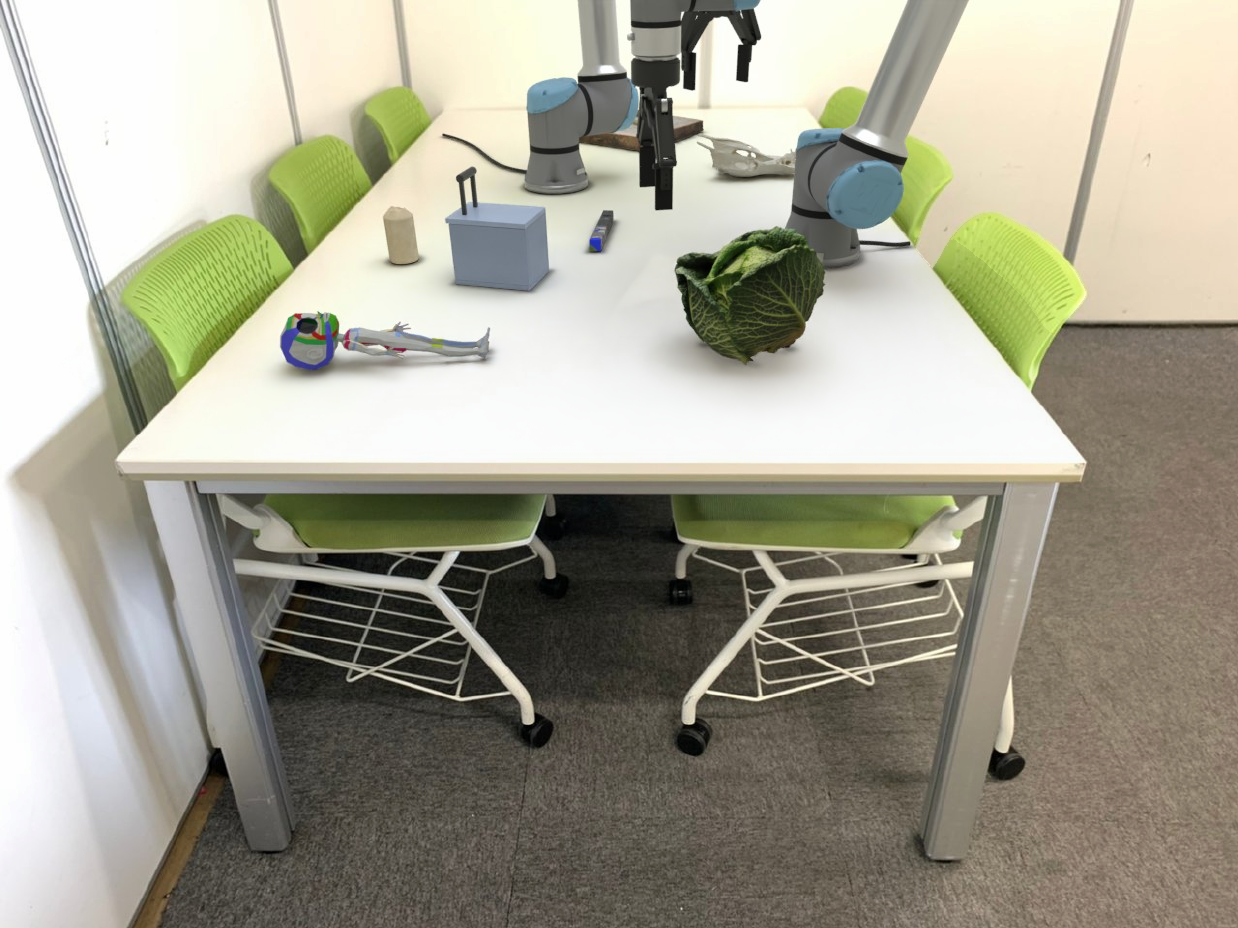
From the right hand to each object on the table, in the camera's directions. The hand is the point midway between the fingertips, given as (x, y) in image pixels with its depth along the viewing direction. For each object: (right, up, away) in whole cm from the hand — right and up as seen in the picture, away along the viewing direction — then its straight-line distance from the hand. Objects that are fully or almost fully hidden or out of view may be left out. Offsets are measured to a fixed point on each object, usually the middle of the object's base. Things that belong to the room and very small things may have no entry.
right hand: (655, 197), depth 147 cm
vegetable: (+13, -27, -11) cm, 32 cm away
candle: (-47, -5, +25) cm, 54 cm away
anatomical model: (+26, +28, +74) cm, 83 cm away
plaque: (-2, +51, +112) cm, 123 cm away
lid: (-28, 0, +11) cm, 30 cm away
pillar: (-9, +3, +36) cm, 37 cm away
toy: (-40, -28, -13) cm, 51 cm away
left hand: (+13, +30, +27) cm, 42 cm away
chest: (-27, -10, +16) cm, 33 cm away
